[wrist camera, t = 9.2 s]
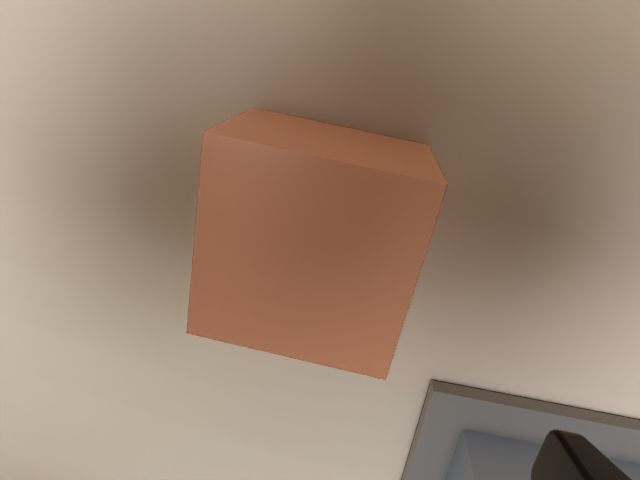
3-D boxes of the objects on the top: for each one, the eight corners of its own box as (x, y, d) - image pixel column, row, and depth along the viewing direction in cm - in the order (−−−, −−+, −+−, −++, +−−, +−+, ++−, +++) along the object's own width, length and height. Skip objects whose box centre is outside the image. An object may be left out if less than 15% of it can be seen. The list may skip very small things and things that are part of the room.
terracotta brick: (235, 261, 16) (186, 333, 12) (254, 107, 14) (203, 131, 10) (384, 295, 16) (385, 379, 12) (427, 144, 14) (447, 184, 10)
